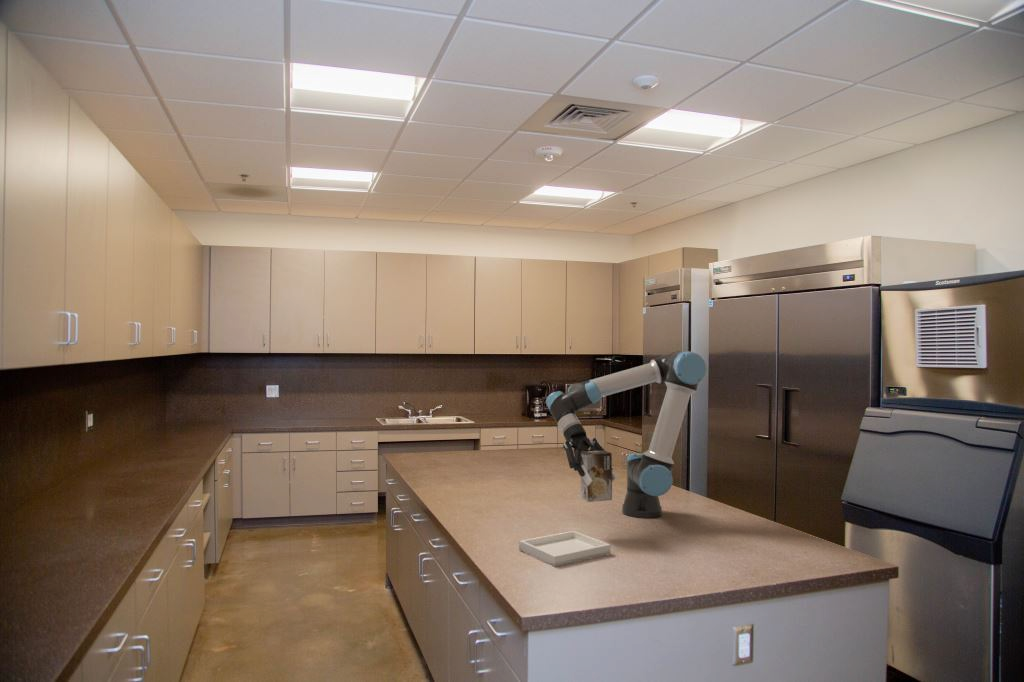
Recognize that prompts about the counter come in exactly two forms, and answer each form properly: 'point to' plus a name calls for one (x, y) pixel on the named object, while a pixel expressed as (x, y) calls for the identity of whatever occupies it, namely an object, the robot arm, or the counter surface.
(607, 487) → the coffee box
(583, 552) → the white tray
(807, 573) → the counter surface
